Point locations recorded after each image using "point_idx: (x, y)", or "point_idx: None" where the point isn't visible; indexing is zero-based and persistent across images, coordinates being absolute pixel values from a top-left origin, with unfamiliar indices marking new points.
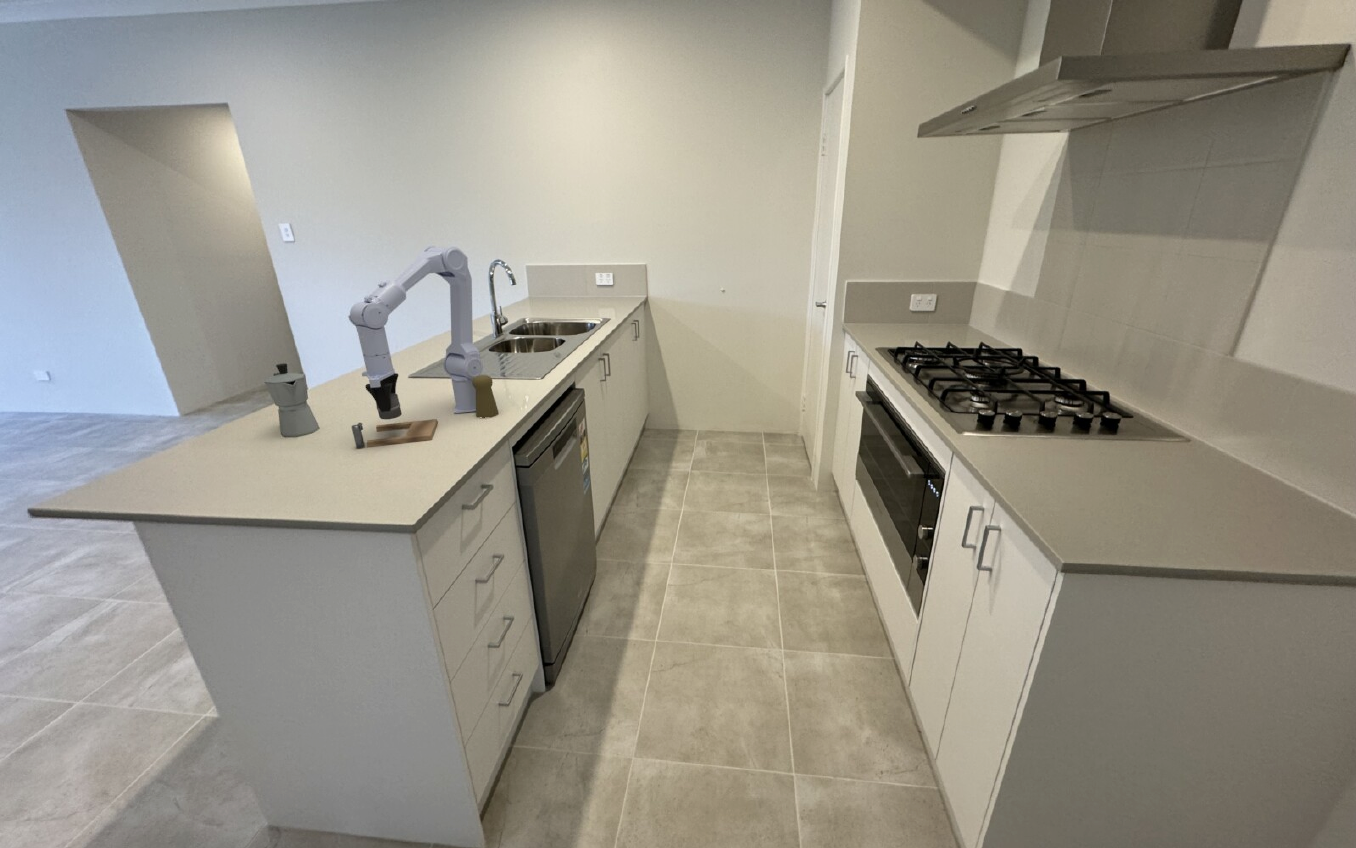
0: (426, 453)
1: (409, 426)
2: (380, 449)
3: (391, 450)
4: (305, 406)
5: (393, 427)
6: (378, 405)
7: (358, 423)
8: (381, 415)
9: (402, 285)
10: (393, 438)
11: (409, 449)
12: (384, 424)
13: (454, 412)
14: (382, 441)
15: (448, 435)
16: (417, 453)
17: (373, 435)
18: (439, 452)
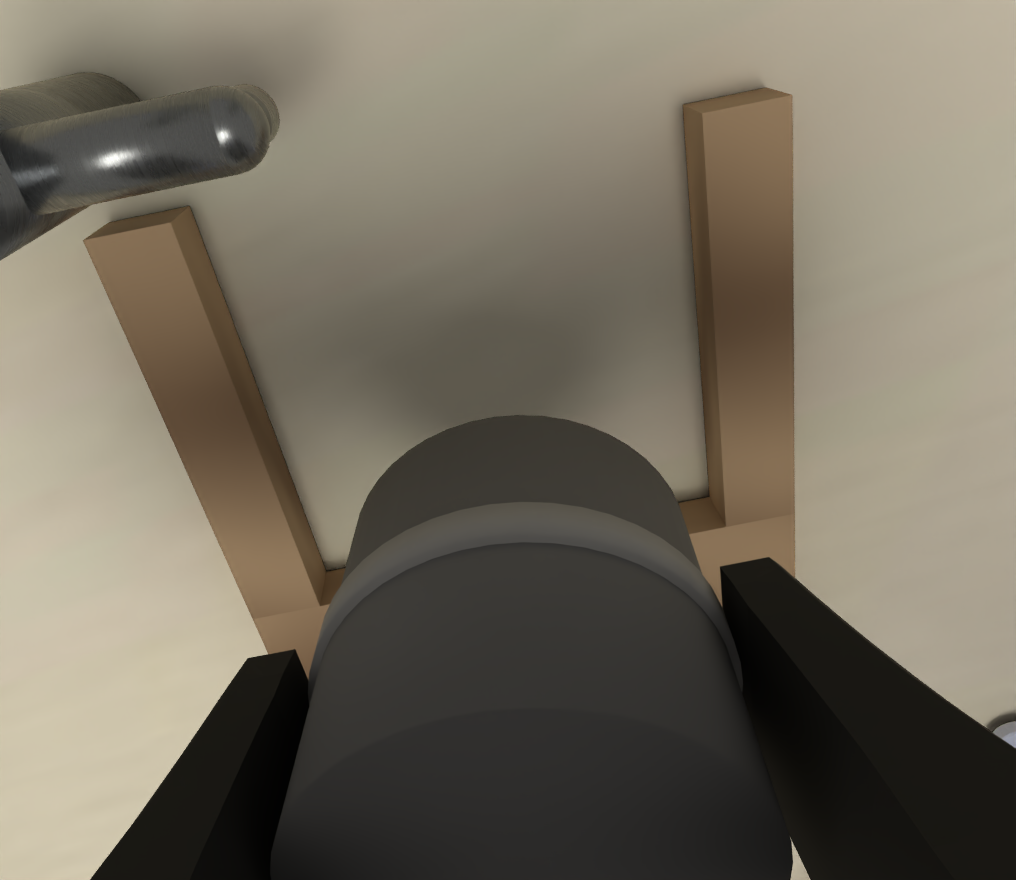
0: (34, 808)
1: (715, 481)
2: (65, 410)
3: (54, 530)
4: None
5: (708, 325)
6: (176, 776)
7: (172, 135)
8: (358, 538)
9: None
10: (244, 517)
11: (102, 668)
12: (790, 200)
13: (999, 736)
14: (170, 418)
15: None
16: (22, 753)
17: (537, 116)
18: (70, 873)
